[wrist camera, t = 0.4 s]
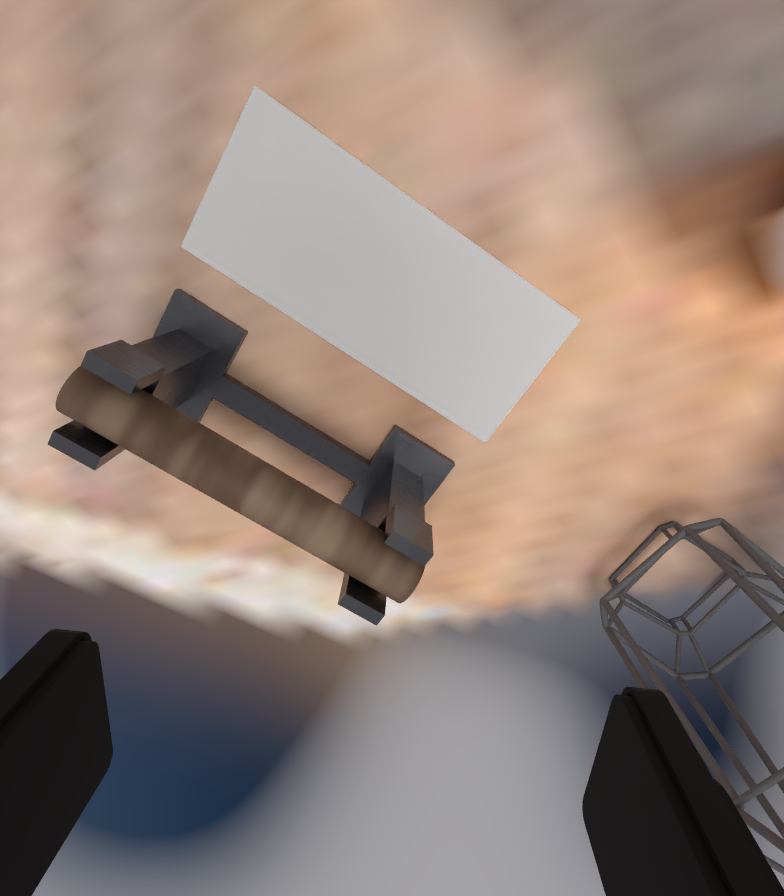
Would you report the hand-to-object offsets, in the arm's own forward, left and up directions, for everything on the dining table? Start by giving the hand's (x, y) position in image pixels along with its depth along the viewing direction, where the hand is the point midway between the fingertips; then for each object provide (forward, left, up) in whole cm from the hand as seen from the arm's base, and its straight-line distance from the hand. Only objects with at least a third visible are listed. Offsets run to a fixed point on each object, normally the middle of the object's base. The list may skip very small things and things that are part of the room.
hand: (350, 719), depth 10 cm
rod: (-4, -10, -24) cm, 27 cm away
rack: (-4, -10, -35) cm, 36 cm away
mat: (-4, +4, -35) cm, 35 cm away
